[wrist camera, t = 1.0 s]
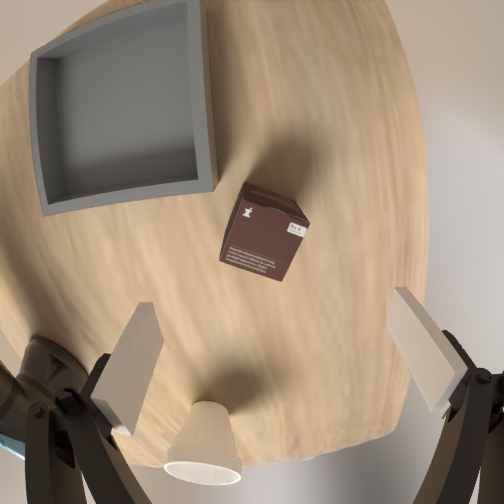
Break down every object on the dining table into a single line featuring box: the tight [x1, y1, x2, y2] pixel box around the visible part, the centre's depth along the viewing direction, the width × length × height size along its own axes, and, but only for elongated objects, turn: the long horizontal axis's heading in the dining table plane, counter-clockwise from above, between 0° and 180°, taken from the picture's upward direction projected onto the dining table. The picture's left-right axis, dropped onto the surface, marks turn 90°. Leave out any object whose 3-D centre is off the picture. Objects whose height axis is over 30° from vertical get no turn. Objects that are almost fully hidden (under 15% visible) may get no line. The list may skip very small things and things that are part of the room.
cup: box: [164, 401, 242, 485], centre depth 38 cm, size 12×12×14 cm
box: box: [219, 183, 310, 282], centre depth 26 cm, size 6×6×7 cm
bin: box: [29, 0, 219, 216], centre depth 22 cm, size 20×20×5 cm
